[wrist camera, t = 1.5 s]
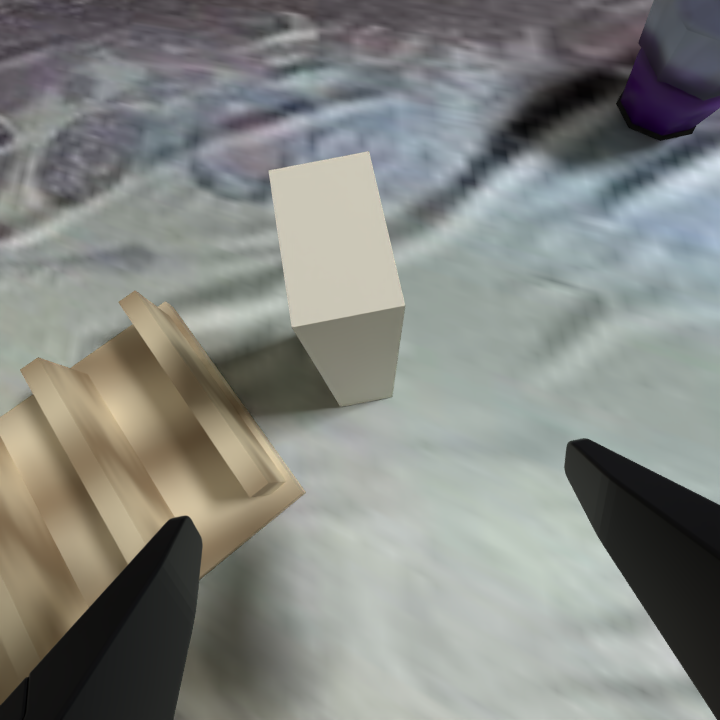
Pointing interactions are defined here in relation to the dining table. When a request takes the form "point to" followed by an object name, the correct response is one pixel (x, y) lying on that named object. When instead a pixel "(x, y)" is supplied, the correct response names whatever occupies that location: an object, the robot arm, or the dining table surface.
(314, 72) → the dining table surface
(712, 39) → the potion bottle
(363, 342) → the cream rectangular block
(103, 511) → the ridged tan cradle
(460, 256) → the dining table surface
